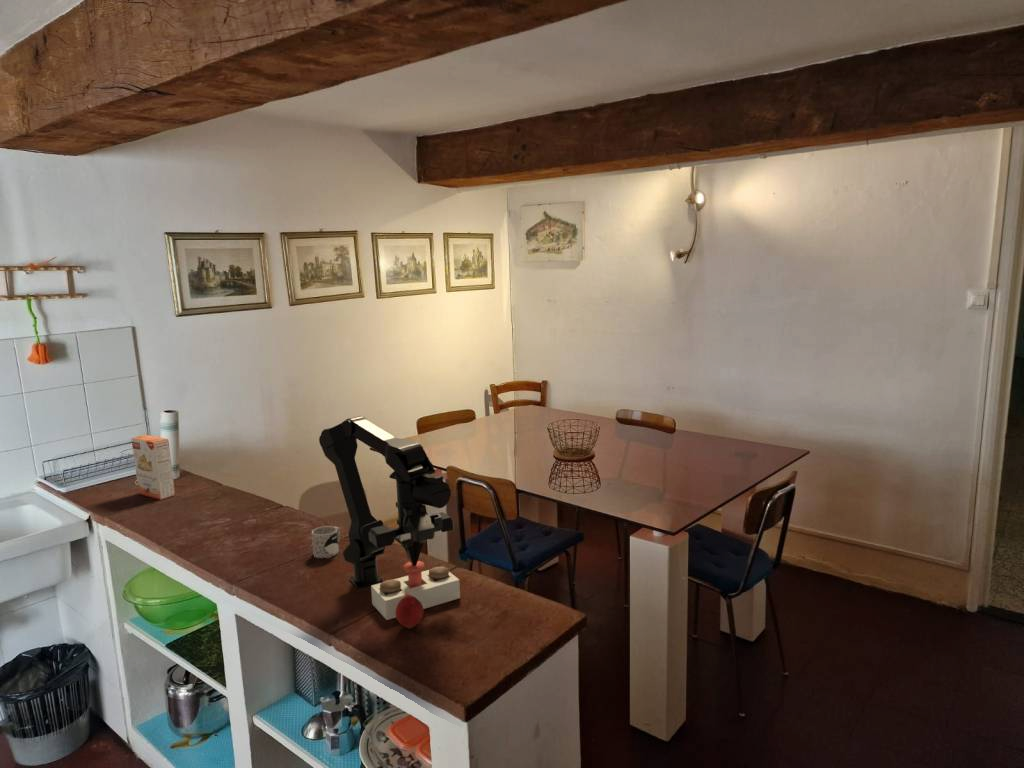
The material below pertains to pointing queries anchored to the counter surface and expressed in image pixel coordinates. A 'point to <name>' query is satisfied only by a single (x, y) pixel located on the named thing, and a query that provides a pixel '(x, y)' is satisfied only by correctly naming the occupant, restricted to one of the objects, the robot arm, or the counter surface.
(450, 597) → the jig
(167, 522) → the counter surface
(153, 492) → the cracker box
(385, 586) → the walnut plunger near
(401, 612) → the onion
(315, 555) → the mug
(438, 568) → the walnut plunger far
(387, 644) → the counter surface
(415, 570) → the red plunger
